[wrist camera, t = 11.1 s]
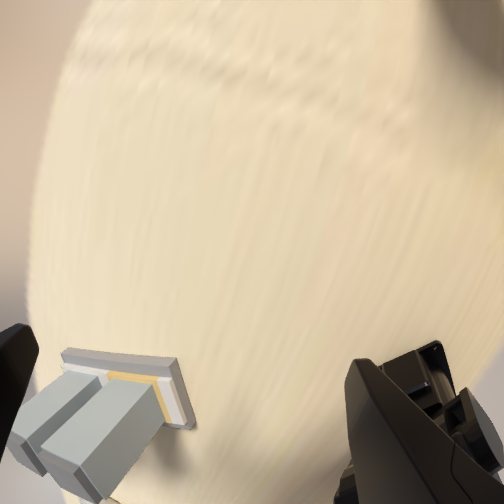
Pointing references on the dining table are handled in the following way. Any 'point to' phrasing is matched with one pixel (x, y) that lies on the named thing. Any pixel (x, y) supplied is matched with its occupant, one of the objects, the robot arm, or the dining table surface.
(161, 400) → the rail board
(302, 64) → the dining table surface
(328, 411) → the dining table surface
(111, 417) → the block
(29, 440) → the block
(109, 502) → the grey spoon
